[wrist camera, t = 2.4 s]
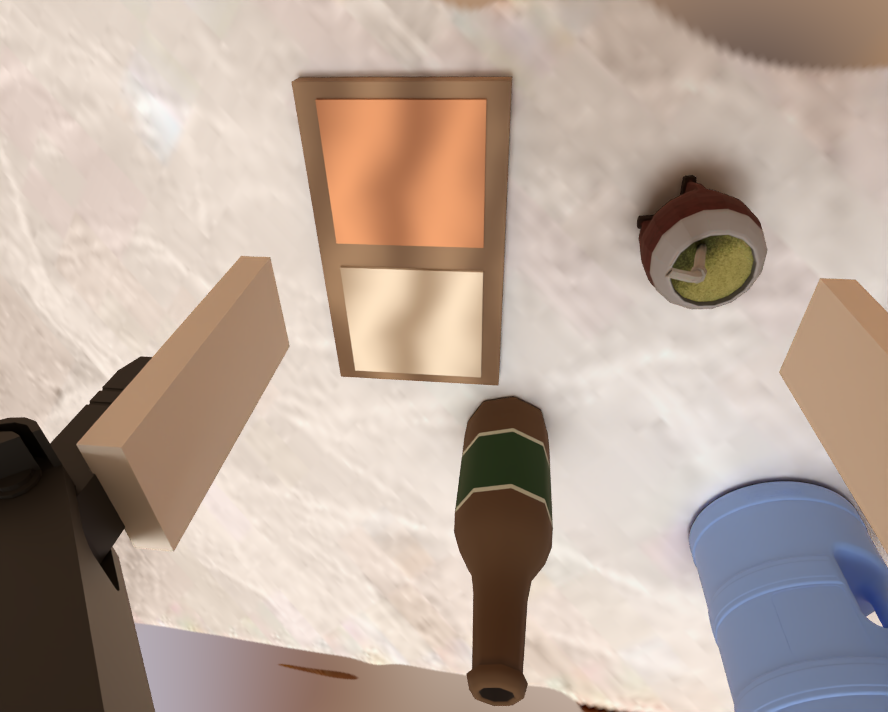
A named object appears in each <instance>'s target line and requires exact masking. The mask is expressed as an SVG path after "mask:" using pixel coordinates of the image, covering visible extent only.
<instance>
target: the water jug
mask: <svg viewBox="0 0 888 712" xmlns="http://www.w3.org/2000/svg"><path fill="white" fill-rule="evenodd" d="M689 545H690V549H691V553H692V557H693V561H694V563H695V565H696V567H697V570H698V573H699V577H700V581H701V584H702V588H703V592H704V595H705V599H706V603H707V606H708V614H709V620H710V624H711V628H712V631H713V635H714V638H715V641H716V643H717V645H718V647H719V651H720V654H721V658H722V662H723V665H724V669H725V673H726V676H727V680H728V684H729V687H730V691H731V695H732V698H733V702H734V710H735V712H888V568H887V566H886V564H885V562H884V561H883V559H882V557H881V555H880V554H879V552H878V550H877V549H876V547H875V545H874V543H873V542H872V540H871V538H870V536H869V535H868V531H867V528H866V526H865V524H864V522H863V521H862V519H861V517H860V516H859V514H858V512H857V511H856V509H855V508H854V507H853V505H852V504H851V503H850V502H849V501H847V500H846V499H845V498H844V497H842V496H841V495H839V494H837V493H835V492H833V491H831V490H829V489H827V488H824V487H821V486H817V485H813V484H809V483H803V482H791V481H778V482H767V483H760V484H755V485H751V486H747V487H743V488H740V489H737V490H735V491H732V492H730V493H728V494H726V495H724V496H722V497H720V498H718V499H717V500H715V501H714V502H712V503H711V504H709V505H708V506H707V507H706V508H705V509H704V510H703V511H702V512H701V513H700V514H699V515H698V516H697V518H696V519H695V521H694V523H693V525H692V527H691V530H690V535H689ZM874 611H875V612H876V614H877V616H878V618H879V620H880V622H881V623H882V625H883V627H881V626H878V625H876V624H875V623H873V622H871V621H870V620H869V619H868V618H867V617H866V616H868V615H869V614H871V613H872V612H874Z"/></svg>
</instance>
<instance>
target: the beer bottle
mask: <svg viewBox="0 0 888 712" xmlns="http://www.w3.org/2000/svg"><path fill="white" fill-rule="evenodd" d="M552 531H553V524H552V501H551V478H550V455H549V442H548V434H547V430H546V427H545V423H544V420H543V416H542V412H541V410H540V409H538V408H536V407H534V406H532V405H530V404H528V403H526V402H524V401H522V400H520V399H518V398H516V397H507V398H501V399H495V400H489V401H484V402H483V403H482V404H481V406H480V407H479V408H478V409H477V411H476V412H475V413H474V415H473V416H472V417H471V418H470V420H469V421H468V423H467V427H466V432H465V438H464V445H463V453H462V461H461V469H460V477H459V485H458V492H457V500H456V508H455V525H454V533H455V537H456V541H457V544H458V548H459V551H460V553H461V555H462V558H463V560H464V562H465V564H466V566H467V568H468V570H469V572H470V574H471V575H472V583H473V651H472V670H471V671H469V672H468V673H467V679H468V685H469V690H470V691H471V693H472V695H473V697H474V698H475V699H477V700H479V701H482V702H485V703H487V704H490V705H493V706H510V705H514V704H515V703H517V702H519V701H520V700H521V699H523V698H524V695H525V692H526V688H527V685H528V683H527V681H526V679H525V677H524V675H523V661H524V646H525V631H526V616H527V601H528V596H529V591H530V586H531V581H532V580H533V579H534V577H535V576H536V575H537V574H538V572H539V571H540V570H541V569H542V567H543V566H544V565H545V563H546V561H547V558H548V556H549V553H550V550H551V548H552Z"/></svg>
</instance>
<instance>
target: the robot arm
mask: <svg viewBox="0 0 888 712" xmlns="http://www.w3.org/2000/svg"><path fill="white" fill-rule="evenodd" d="M288 348H289V341H288V336H287V332H286V327H285V323H284V318H283V314H282V309H281V304H280V300H279V295H278V291H277V286H276V281H275V277H274V272H273V268H272V263H271V259H270V257H249V256H241V257H240V258H239V259H238V260H237V261H236V263H235V264H234V265H233V266H232V267H231V268H230V269H229V271H228V272H227V273H226V274H225V275H224V276H223V277H222V279H221V280H220V281H219V282H218V283H217V284H216V285H215V287H214V288H213V289H212V290H211V291H210V292H209V293H208V295H207V296H206V297H205V298H204V299H203V300H202V301H201V303H200V304H199V305H198V306H197V307H196V308H195V309H194V310H193V312H192V313H191V314H190V315H189V316H188V317H187V318H186V320H185V321H184V322H183V323H182V324H181V325H180V326H179V328H178V329H177V330H176V331H175V332H174V333H173V334H172V336H171V337H170V338H169V339H168V340H167V341H166V342H165V344H164V345H163V346H162V347H161V348H160V349H159V350H158V352H157V353H156V354H155V355H154V356H153V357H139V358H137V359H136V360H134V361H133V362H131V363H129V364H128V365H126V366H125V367H123V368H121V369H120V370H118V371H117V372H116V373H115V374H114V376H113V377H112V378H111V379H110V380H109V381H108V382H107V383H106V384H105V385H104V386H103V387H102V388H103V390H102V391H99V392H98V393H97V394H96V395H95V396H94V397H93V398H92V399H91V400H90V404H89V405H86V406H85V407H84V408H83V409H82V410H81V411H80V412H79V413H78V414H77V415H76V416H75V417H74V419H73V420H72V421H71V422H70V423H69V424H68V425H67V426H66V427H65V428H64V429H63V430H62V431H61V433H60V434H59V435H58V436H57V437H56V438H55V439H54V440H53V441H52V442H51V443H49V442H48V440H47V438H46V437H45V435H44V433H43V432H42V430H41V428H40V427H39V425H38V424H37V422H36V421H34V420H31V419H28V418H25V417H23V418H6V419H2V420H0V712H155V709H154V705H153V701H152V697H151V692H150V688H149V684H148V680H147V676H146V671H145V667H144V663H143V658H142V654H141V650H140V646H139V642H138V637H137V633H136V629H135V624H134V620H133V616H132V612H131V608H130V603H129V599H128V595H127V591H126V586H125V582H124V578H123V574H122V569H121V565H120V561H119V557H118V555H117V553H116V552H115V550H114V548H113V547H112V546H113V545H114V543H115V542H116V540H117V539H118V537H119V536H120V534H121V533H122V531H123V530H124V529H125V531H126V533H127V535H128V536H129V538H130V540H131V542H132V543H133V545H134V547H135V548H141V549H152V550H163V551H174V550H175V548H176V546H177V545H178V543H179V541H180V539H181V538H182V536H183V534H184V532H185V530H186V529H187V527H188V525H189V523H190V522H191V520H192V518H193V516H194V515H195V513H196V511H197V509H198V507H199V506H200V504H201V502H202V500H203V499H204V497H205V495H206V493H207V492H208V490H209V488H210V486H211V484H212V483H213V481H214V479H215V477H216V476H217V474H218V472H219V470H220V469H221V467H222V465H223V463H224V461H225V460H226V458H227V456H228V454H229V453H230V451H231V449H232V447H233V446H234V444H235V442H236V440H237V438H238V437H239V435H240V433H241V431H242V430H243V428H244V426H245V424H246V423H247V421H248V419H249V417H250V415H251V414H252V412H253V410H254V408H255V407H256V405H257V403H258V401H259V399H260V398H261V396H262V394H263V392H264V391H265V389H266V387H267V385H268V384H269V382H270V380H271V378H272V376H273V375H274V373H275V371H276V369H277V368H278V366H279V364H280V362H281V361H282V359H283V357H284V355H285V353H286V352H287V350H288ZM779 373H780V375H781V376H782V378H783V380H784V381H785V383H786V385H787V386H788V388H789V390H790V391H791V393H792V395H793V396H794V398H795V400H796V401H797V403H798V405H799V406H800V408H801V410H802V412H803V413H804V415H805V417H806V418H807V420H808V422H809V423H810V425H811V427H812V428H813V430H814V432H815V433H816V435H817V437H818V438H819V440H820V442H821V443H822V445H823V447H824V448H825V450H826V452H827V453H828V455H829V457H830V458H831V460H832V462H833V463H834V465H835V467H836V468H837V470H838V472H839V474H840V475H841V477H842V479H843V480H844V482H845V484H846V485H847V487H848V489H849V490H850V492H851V494H852V495H853V497H854V499H855V500H856V502H857V504H858V505H859V507H860V509H861V510H862V512H863V514H864V515H865V517H866V519H867V520H868V522H869V524H870V525H871V527H872V529H873V531H874V532H875V534H876V536H877V537H878V539H879V541H880V542H881V544H882V546H883V547H884V549H885V551H886V552H887V554H888V312H887V311H886V310H885V309H884V308H883V307H882V306H881V305H880V304H879V303H878V302H877V301H876V300H875V299H874V298H873V297H872V296H871V295H870V294H869V293H868V292H867V291H866V290H865V289H864V288H863V287H862V286H861V285H860V284H859V283H858V282H857V281H856V280H850V279H824V278H820V280H819V282H818V284H817V287H816V289H815V291H814V294H813V296H812V298H811V301H810V303H809V305H808V307H807V310H806V312H805V314H804V317H803V319H802V321H801V323H800V326H799V328H798V330H797V333H796V335H795V337H794V340H793V342H792V344H791V346H790V349H789V351H788V353H787V356H786V358H785V360H784V362H783V365H782V367H781V369H780V372H779Z"/></svg>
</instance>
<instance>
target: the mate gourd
mask: <svg viewBox="0 0 888 712" xmlns="http://www.w3.org/2000/svg"><path fill="white" fill-rule="evenodd" d="M637 227H638V228H639V229H641V230H640V234H639V243H640V253H641V260H642V264H643V267H644V269H645V272H646V275H647V277H648V280H649V281H650V283H651V284H652V285H653V286H654V287H655V288H656V290H657V291H658V292H659V293H660V294H661V295H662V296H663V297H664V298H666V299H667V300H668V301H669V302H670V303H673V304H676V305H679V306H682V307H685V308H689V309H713V308H716V307H719V306H722V305H724V304H727V303H730V302H732V301H734V300H735V299H737V298H738V297H739V296H741V295H742V294H744V293H745V292H747V291H748V290H749V289H750V287H751V286H752V285H753V283H754V282H755V281H756V279H757V278H758V277H759V275H760V274H761V272H762V270H763V266H764V261H765V257H766V253H767V247H766V242H765V238H764V234H763V231H762V227H761V223H760V222H759V220H758V218H757V217H756V216H755V215H754V214H753V213H752V212H751V211H750V209H749V208H748V207H747V206H746V205H745V204H744V203H743V202H741V201H740V200H739V199H737V198H734V197H731V196H728V195H726V194H723V193H720V192H717V191H714V190H710V189H706V188H705V187H704V186H703V185H701V184H698V183H696V177H695V176H693V175H689V176H685V177H683V181H682V187H681V193H680V196H678V197H676V198H674V199H672V200H670V201H669V202H668V203H667V204H666V205H664V206H663V207H662V208H661V209H660V210H659V211H657V212H656V213H655V215H646V216H639V217H638V220H637Z"/></svg>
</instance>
